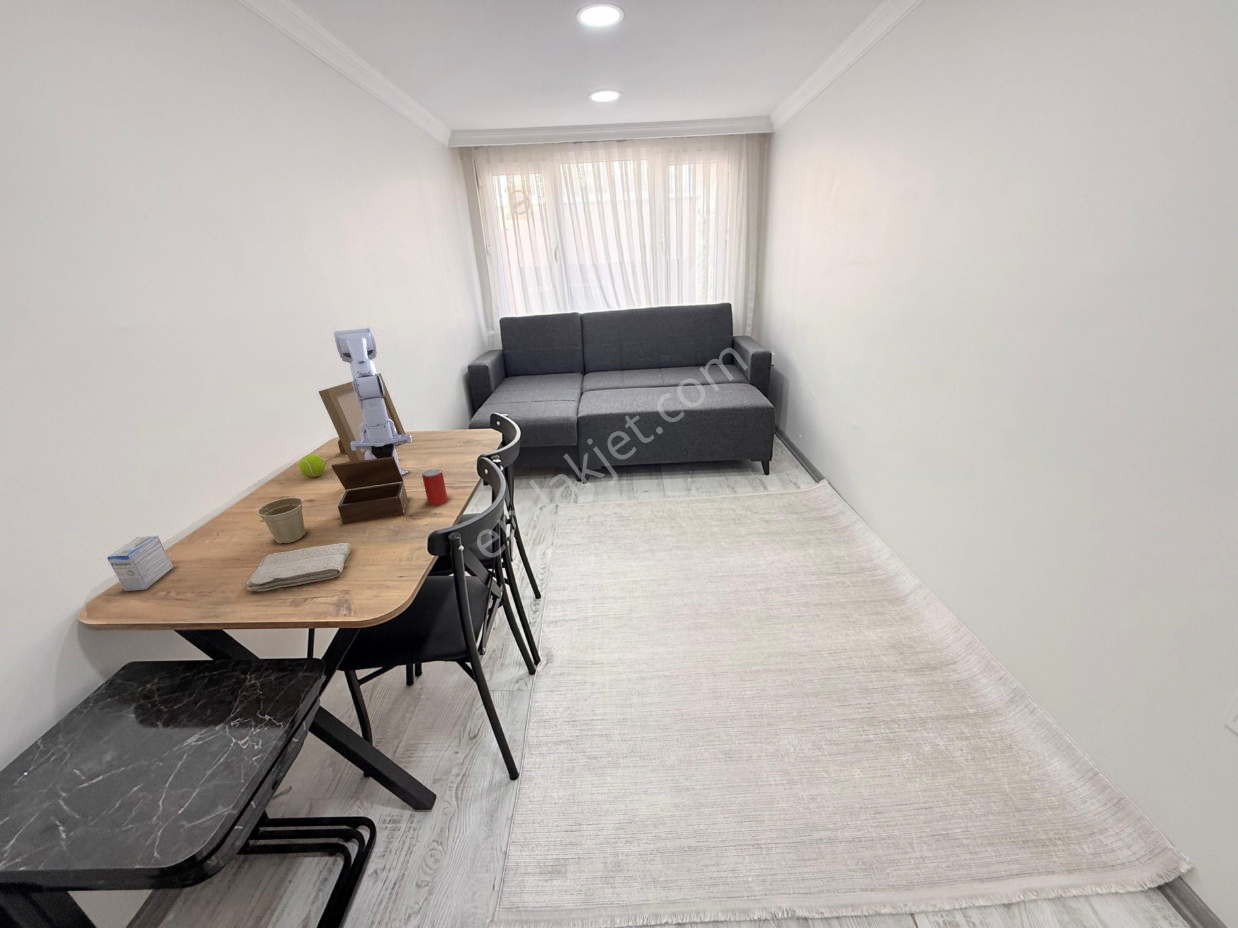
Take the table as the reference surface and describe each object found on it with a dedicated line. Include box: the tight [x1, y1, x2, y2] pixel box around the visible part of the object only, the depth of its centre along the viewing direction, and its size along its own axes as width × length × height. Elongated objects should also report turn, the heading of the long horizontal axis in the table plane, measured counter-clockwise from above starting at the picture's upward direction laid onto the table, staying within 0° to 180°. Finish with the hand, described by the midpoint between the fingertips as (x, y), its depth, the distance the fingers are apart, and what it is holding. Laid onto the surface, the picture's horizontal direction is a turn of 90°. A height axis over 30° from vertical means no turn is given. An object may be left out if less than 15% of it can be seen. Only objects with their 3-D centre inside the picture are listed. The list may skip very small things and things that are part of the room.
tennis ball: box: [298, 454, 327, 478], centre depth 153 cm, size 7×7×7 cm
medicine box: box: [106, 535, 174, 592], centre depth 105 cm, size 8×4×9 cm, turn 5°
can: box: [421, 468, 449, 507], centre depth 134 cm, size 5×5×9 cm
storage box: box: [337, 481, 409, 526], centre depth 130 cm, size 10×15×5 cm, turn 106°
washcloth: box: [245, 542, 352, 592], centre depth 107 cm, size 12×18×3 cm, turn 107°
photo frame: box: [318, 373, 407, 462], centre depth 169 cm, size 15×22×25 cm
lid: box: [330, 456, 404, 491], centre depth 129 cm, size 10×15×1 cm
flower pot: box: [256, 496, 306, 544], centre depth 119 cm, size 9×9×9 cm
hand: (389, 470), depth 132 cm, fingers closed
